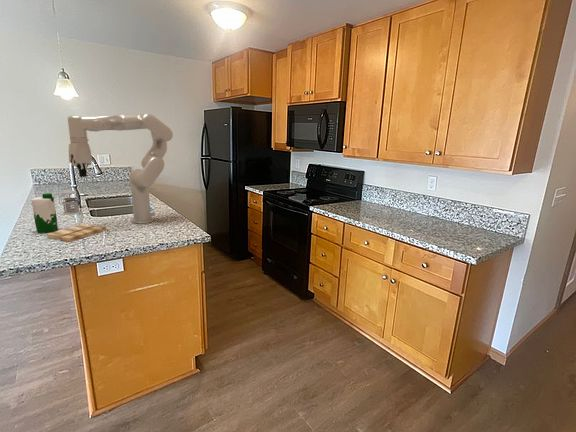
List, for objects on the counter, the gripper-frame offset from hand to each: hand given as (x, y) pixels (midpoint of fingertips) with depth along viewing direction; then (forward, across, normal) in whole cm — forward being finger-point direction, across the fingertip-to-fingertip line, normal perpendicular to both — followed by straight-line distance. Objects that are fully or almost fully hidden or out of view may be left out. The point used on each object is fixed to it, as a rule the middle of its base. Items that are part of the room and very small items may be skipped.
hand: (83, 176), depth 168 cm
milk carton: (+29, +10, -17) cm, 35 cm away
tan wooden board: (+29, +9, -2) cm, 30 cm away
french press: (+29, -25, -41) cm, 56 cm away
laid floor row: (+29, +9, +6) cm, 31 cm away
